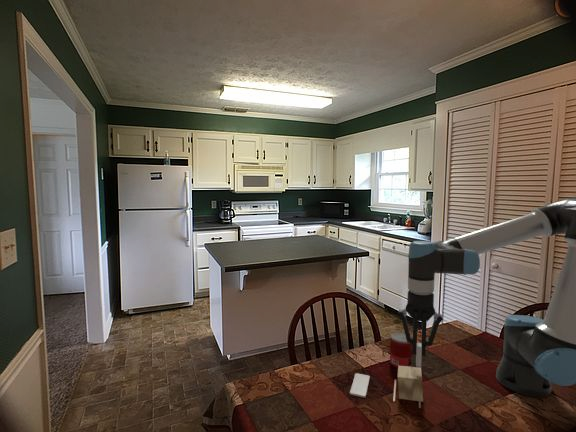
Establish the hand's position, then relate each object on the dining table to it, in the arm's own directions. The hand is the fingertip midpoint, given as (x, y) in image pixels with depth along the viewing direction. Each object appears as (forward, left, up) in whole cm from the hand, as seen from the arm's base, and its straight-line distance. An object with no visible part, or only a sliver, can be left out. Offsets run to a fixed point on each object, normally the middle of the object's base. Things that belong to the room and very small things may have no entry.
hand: (418, 364), depth 101 cm
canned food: (+5, -19, -11) cm, 22 cm away
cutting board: (+5, 0, -11) cm, 12 cm away
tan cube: (-1, 0, -6) cm, 6 cm away
